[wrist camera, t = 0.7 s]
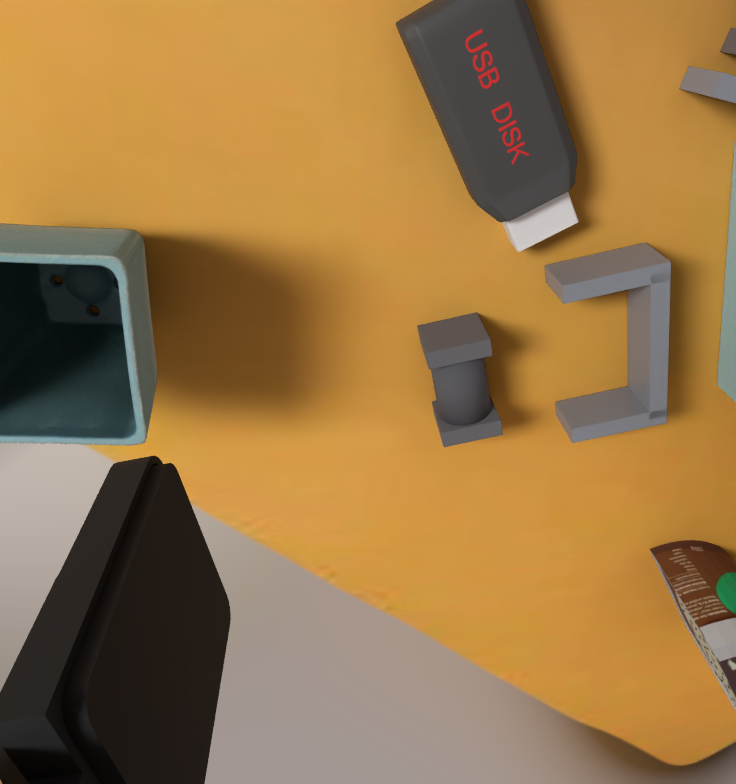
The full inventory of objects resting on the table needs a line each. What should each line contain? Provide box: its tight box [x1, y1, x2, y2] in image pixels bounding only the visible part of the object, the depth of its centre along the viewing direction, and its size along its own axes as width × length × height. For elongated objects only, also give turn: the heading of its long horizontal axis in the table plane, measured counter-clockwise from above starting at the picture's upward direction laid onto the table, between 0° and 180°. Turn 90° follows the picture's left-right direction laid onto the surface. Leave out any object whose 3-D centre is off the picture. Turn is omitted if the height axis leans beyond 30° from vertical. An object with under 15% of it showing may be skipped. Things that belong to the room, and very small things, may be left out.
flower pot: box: [0, 223, 157, 446], centre depth 31 cm, size 9×9×9 cm
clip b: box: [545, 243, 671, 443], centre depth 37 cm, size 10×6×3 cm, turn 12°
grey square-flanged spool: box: [417, 312, 503, 447], centre depth 38 cm, size 6×3×3 cm, turn 12°
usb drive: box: [396, 0, 579, 252], centre depth 31 cm, size 5×12×3 cm, turn 27°
